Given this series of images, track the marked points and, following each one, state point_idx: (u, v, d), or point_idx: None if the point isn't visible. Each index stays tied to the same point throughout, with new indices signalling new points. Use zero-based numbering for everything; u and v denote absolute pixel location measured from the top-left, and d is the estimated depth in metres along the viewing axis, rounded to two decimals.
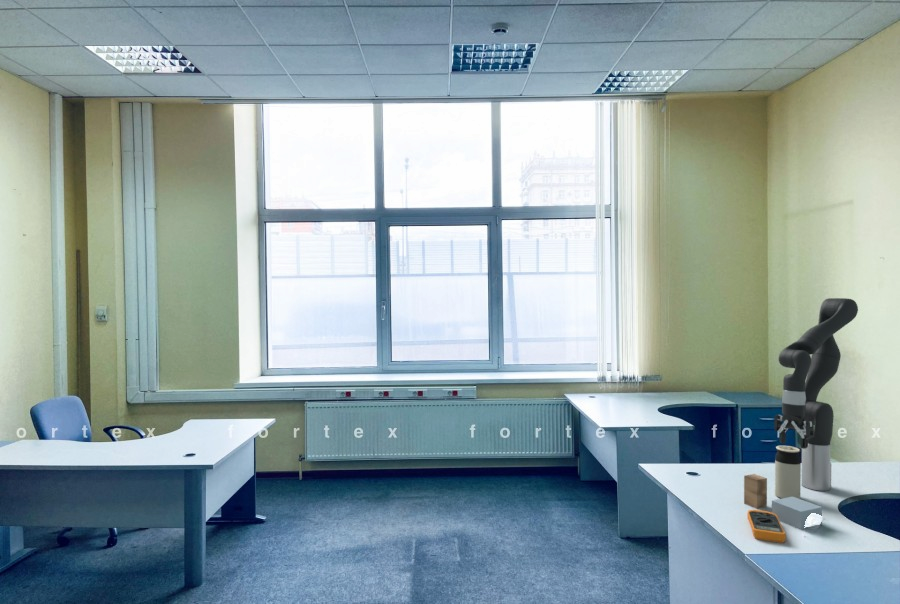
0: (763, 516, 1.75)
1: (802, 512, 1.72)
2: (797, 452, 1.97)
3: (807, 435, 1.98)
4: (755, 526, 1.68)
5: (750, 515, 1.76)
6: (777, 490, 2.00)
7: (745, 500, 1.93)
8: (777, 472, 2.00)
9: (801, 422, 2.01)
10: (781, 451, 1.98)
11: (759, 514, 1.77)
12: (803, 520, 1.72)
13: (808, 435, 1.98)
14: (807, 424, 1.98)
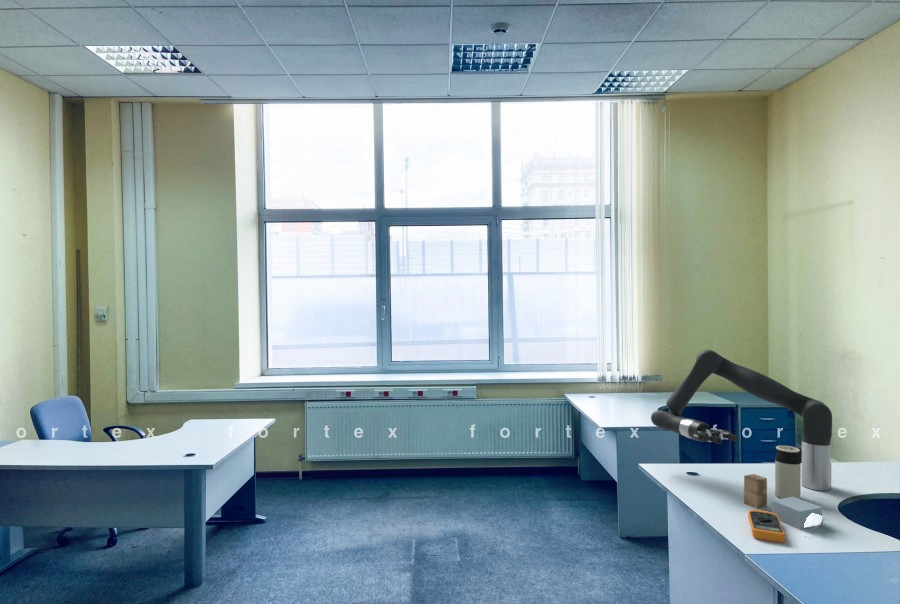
0: (764, 516, 1.75)
1: (801, 512, 1.72)
2: (797, 452, 1.97)
3: None
4: (754, 526, 1.68)
5: (750, 515, 1.76)
6: (777, 490, 2.00)
7: (745, 500, 1.93)
8: (777, 472, 2.00)
9: None
10: (781, 451, 1.98)
11: (760, 514, 1.77)
12: (803, 520, 1.72)
13: None
14: (696, 438, 2.08)
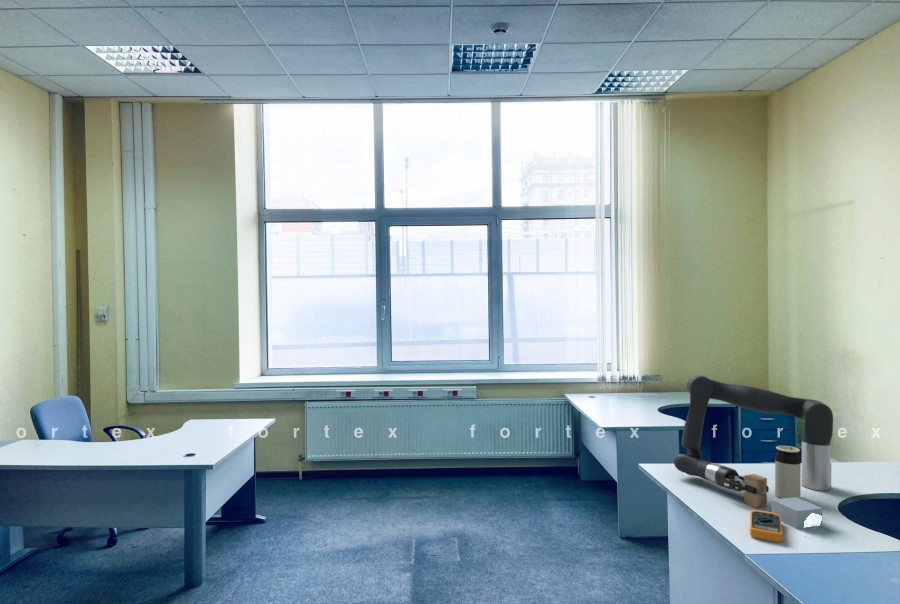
0: (765, 516, 1.75)
1: (798, 511, 1.72)
2: (797, 452, 1.97)
3: None
4: (753, 525, 1.69)
5: (752, 515, 1.76)
6: (777, 490, 2.00)
7: (745, 500, 1.93)
8: (777, 472, 2.00)
9: None
10: (781, 451, 1.98)
11: (762, 514, 1.77)
12: (800, 519, 1.73)
13: (738, 490, 1.92)
14: None
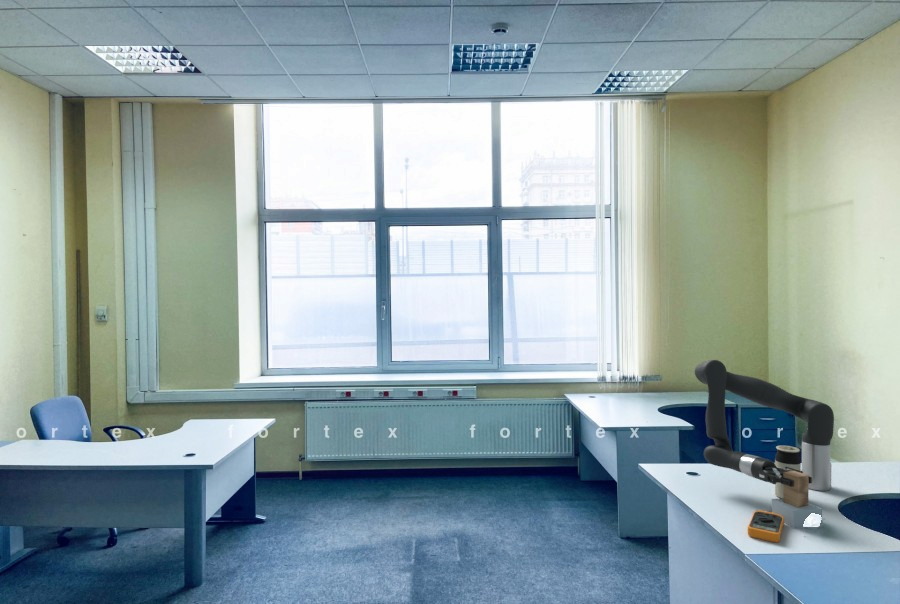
0: (767, 517, 1.75)
1: (795, 511, 1.73)
2: (797, 452, 1.97)
3: None
4: (751, 524, 1.69)
5: (754, 515, 1.77)
6: (777, 490, 2.00)
7: (785, 499, 1.79)
8: None
9: None
10: (781, 451, 1.98)
11: (764, 515, 1.77)
12: (797, 519, 1.73)
13: None
14: None
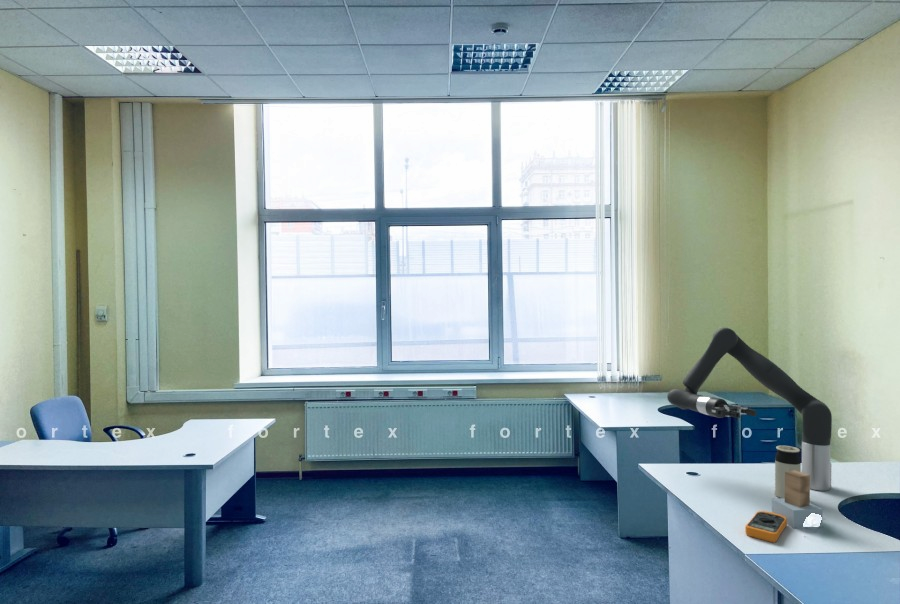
0: (769, 517, 1.74)
1: (795, 511, 1.73)
2: (797, 452, 1.97)
3: None
4: (750, 524, 1.70)
5: (756, 515, 1.77)
6: (777, 490, 2.00)
7: (786, 499, 1.79)
8: (777, 472, 2.00)
9: None
10: (781, 451, 1.98)
11: (767, 515, 1.76)
12: (797, 519, 1.73)
13: (722, 416, 2.04)
14: (714, 414, 2.08)
